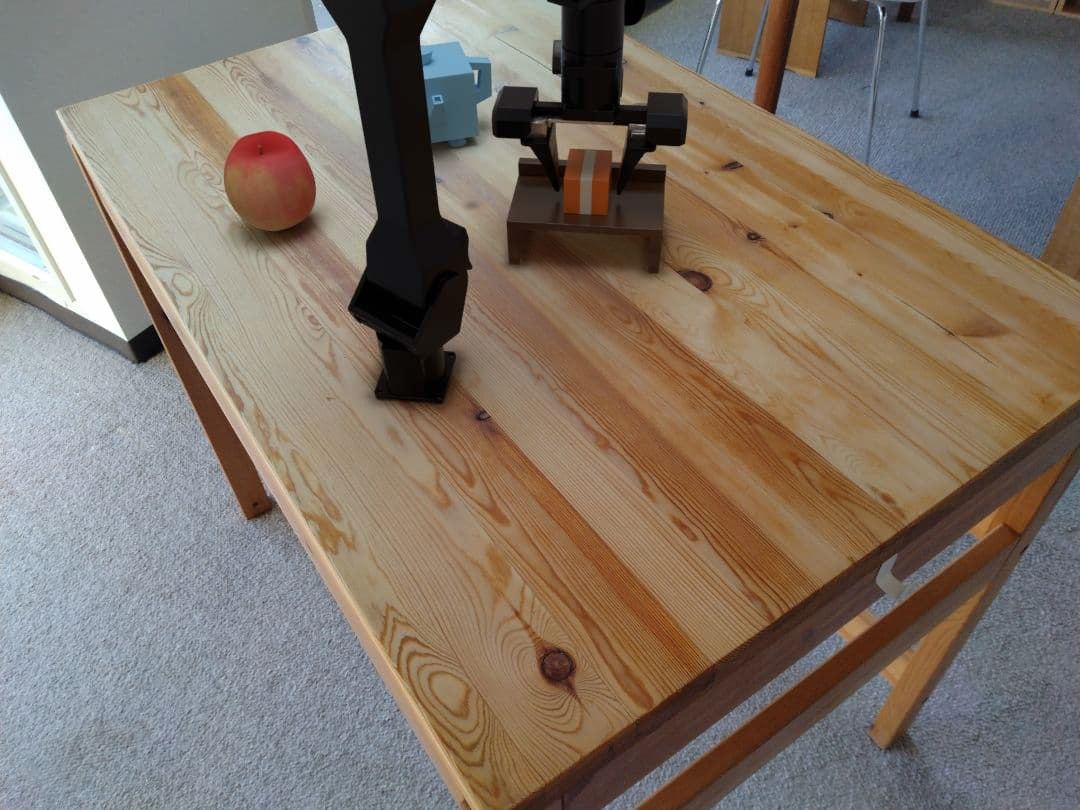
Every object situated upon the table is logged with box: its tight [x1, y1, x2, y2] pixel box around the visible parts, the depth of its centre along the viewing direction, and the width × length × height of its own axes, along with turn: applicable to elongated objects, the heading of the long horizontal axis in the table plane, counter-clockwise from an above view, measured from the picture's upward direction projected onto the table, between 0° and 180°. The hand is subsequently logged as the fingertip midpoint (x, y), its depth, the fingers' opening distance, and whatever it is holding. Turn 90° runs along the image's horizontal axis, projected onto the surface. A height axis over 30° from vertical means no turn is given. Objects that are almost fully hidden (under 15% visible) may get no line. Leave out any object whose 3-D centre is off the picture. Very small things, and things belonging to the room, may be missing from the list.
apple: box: [223, 130, 317, 232], centre depth 93 cm, size 10×10×10 cm
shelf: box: [505, 157, 668, 274], centre depth 91 cm, size 10×16×7 cm, turn 83°
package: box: [564, 147, 613, 215], centre depth 88 cm, size 6×4×4 cm
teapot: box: [420, 41, 493, 148], centre depth 107 cm, size 16×18×11 cm
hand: (588, 191), depth 89 cm, fingers open, 6 cm apart
